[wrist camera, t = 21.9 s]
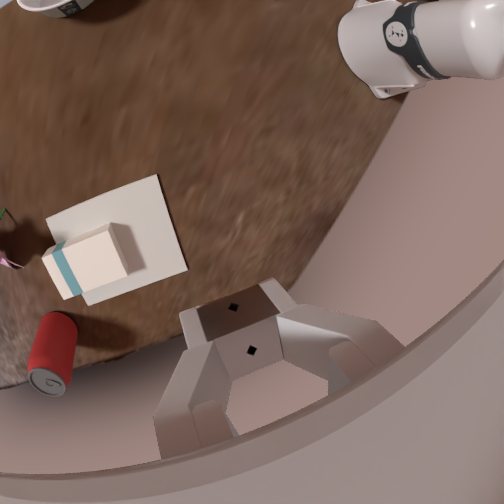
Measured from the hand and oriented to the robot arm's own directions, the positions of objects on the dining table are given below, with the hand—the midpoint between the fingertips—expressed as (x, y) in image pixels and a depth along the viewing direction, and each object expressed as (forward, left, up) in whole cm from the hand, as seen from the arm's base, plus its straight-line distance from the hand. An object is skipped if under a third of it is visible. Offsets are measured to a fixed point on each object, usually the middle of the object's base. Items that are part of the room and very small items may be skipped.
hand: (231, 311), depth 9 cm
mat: (+9, +7, -29) cm, 31 cm away
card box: (+8, +7, -27) cm, 29 cm away
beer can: (+24, +16, -29) cm, 41 cm away
